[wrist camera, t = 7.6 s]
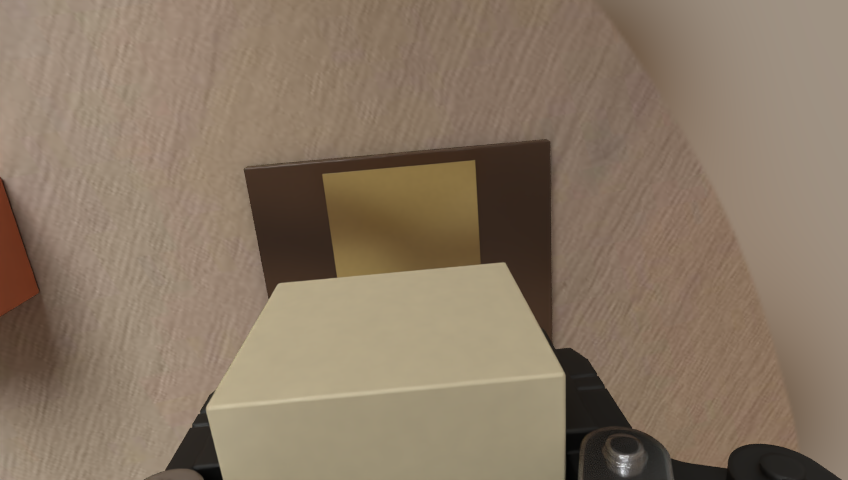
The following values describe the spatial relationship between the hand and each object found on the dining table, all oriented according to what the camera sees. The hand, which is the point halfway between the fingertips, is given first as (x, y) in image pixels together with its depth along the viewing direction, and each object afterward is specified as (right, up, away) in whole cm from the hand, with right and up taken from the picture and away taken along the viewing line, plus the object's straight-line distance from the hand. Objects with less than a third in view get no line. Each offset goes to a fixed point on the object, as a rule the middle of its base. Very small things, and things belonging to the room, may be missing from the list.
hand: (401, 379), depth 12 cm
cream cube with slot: (0, 0, 0) cm, 0 cm away
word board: (0, -3, +12) cm, 13 cm away
